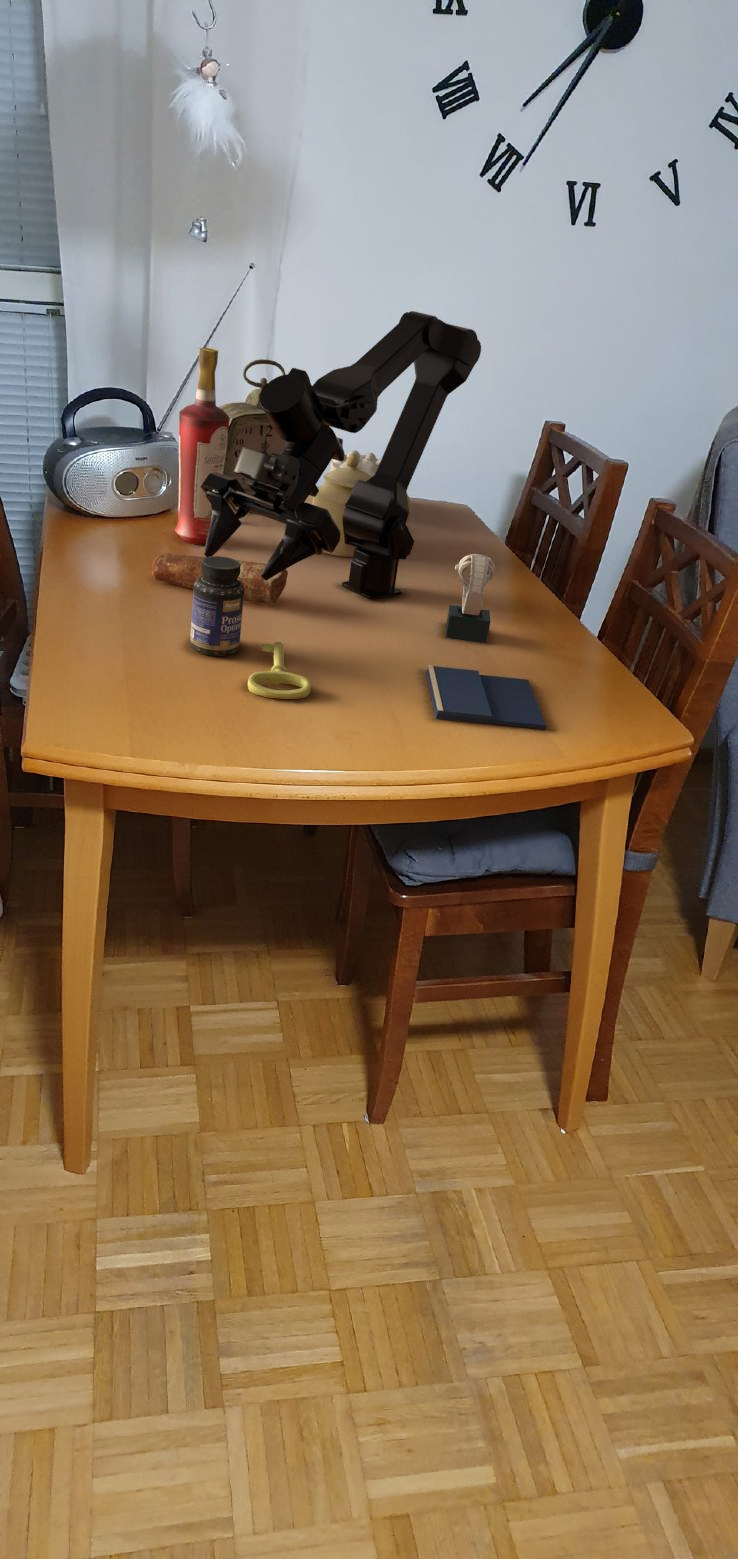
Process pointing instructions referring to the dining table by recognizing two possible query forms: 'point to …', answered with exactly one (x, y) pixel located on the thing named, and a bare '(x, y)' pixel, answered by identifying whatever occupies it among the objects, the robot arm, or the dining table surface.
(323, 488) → the sugar bowl
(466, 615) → the watch
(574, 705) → the dining table surface
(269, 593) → the brown rough cylinder
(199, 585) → the pill bottle
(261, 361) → the tabletop clock
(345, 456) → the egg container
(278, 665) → the key
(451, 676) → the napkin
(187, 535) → the liquor
